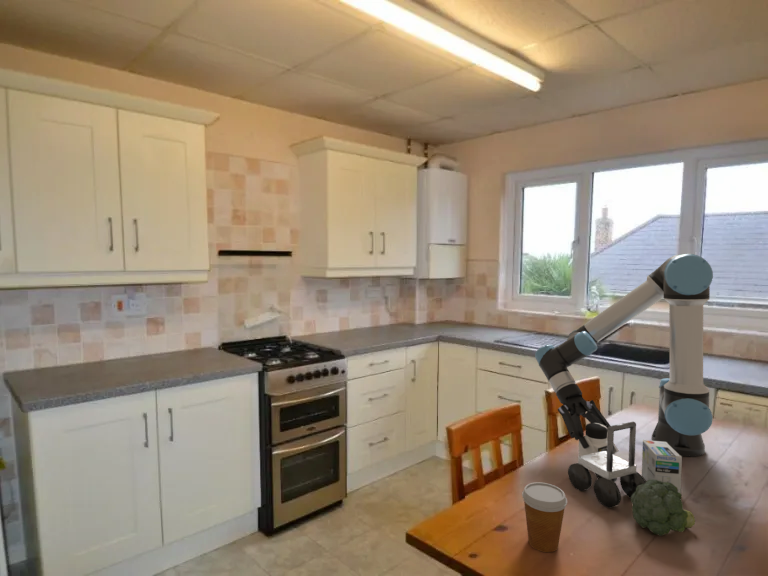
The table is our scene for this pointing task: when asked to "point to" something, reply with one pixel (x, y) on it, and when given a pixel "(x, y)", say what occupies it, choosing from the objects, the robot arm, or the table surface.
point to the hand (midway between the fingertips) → (605, 455)
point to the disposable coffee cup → (544, 515)
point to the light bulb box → (661, 463)
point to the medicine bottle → (595, 438)
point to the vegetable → (660, 508)
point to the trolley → (608, 470)
